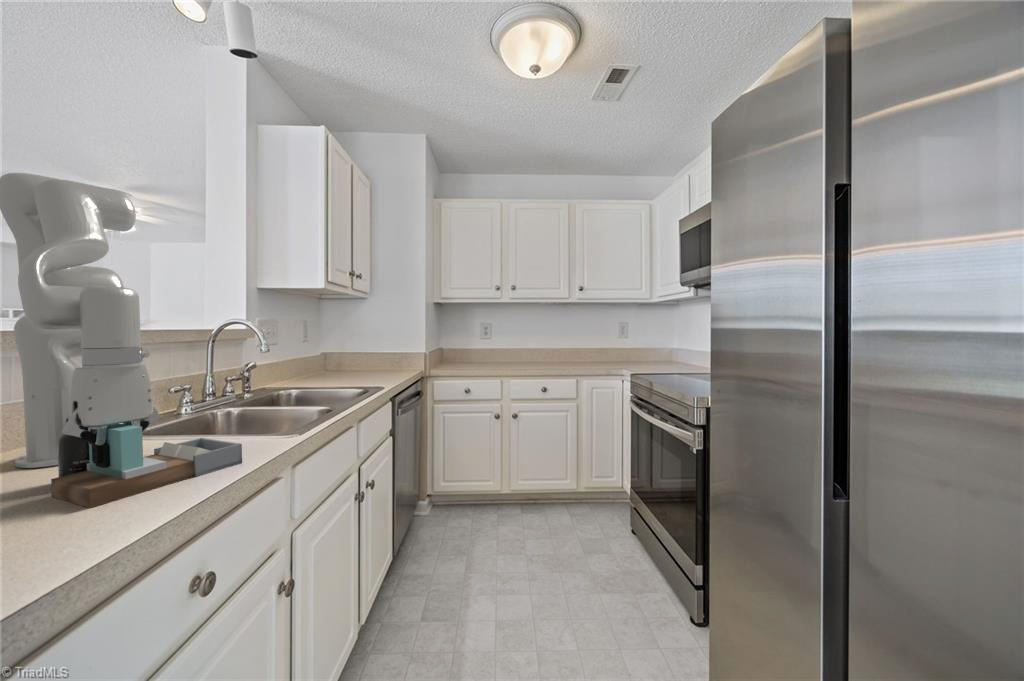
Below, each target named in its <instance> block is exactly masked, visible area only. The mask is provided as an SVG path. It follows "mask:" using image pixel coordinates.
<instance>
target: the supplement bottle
mask: <svg viewBox="0 0 1024 681" xmlns="http://www.w3.org/2000/svg"><path fill="white" fill-rule="evenodd" d="M68 420H69V418H67V419H66V423H67V422H68ZM79 428H80V429H82V430H86V431H88V427H84V426H79ZM88 463H90V458H89V443H88V442H87V441H85V440H83V439H81V438H79V437H76V436H71V435H66V434H63V435H62V436H61V437H60V438H59V440H58V465H57V466H58V467H57V468H58V469H57V470H58V477H62V476H66V475H70V474H74V473H79V472H83V471H87V464H88Z"/></svg>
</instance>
